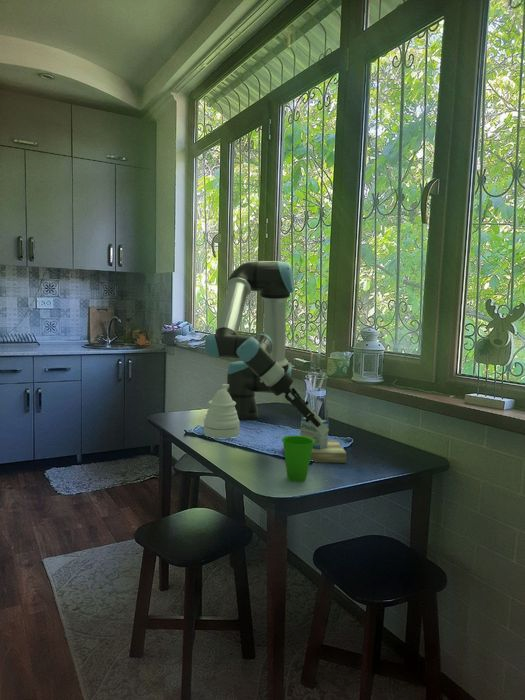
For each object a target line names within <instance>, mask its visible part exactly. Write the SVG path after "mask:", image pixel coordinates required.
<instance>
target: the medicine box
mask: <svg viewBox="0 0 525 700" xmlns="http://www.w3.org/2000/svg"><path fill="white" fill-rule="evenodd" d="M305 420H306V418H305V417H304V416H303V417H302V418H300V435H299V436H306V437H310V438H312V439H314V441H315V443H314V444H313V448H316V449H323V448H325V447H327V443H328V440H329V431H328V432H327V433H326V434H325V435H323V436H322V435H321V434H320V433H319V432H318V431H317V430H316V429H315V428H314V426H313V425H312V424H311V423H310V422H309V421H308V422H306V421H305ZM319 420H320V421H321V422H322V423H323V424H324V425H325V426H326V427H327V428H328V429H329V423H330V422H329V420H326V419H322V418H321V419H319Z"/></svg>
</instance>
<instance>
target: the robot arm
mask: <svg viewBox="0 0 525 700" xmlns="http://www.w3.org/2000/svg"><path fill="white" fill-rule="evenodd" d="M294 280H295V278H294V272H293V266H292V265H291V263H290V262H288V261H279V260H276V261H275V260H270V261H268V260H260V261H259V260H251V261H246V262H244V263H242V264H240V265H239V266H238V267H236V268H235V269H234V270H233V271H232V273H231V274H230V276H229V277H228V279H227V281H226V285H225V287H226V288H225V289H226V294H225V298H224V301H223V305H222V309H221V312H220V314H219V318H218V322H217V325H216V329H215V333H212V334H211V333H209V334H207V335H206V338H205V341H204V350H205V354H206V356H208V357H212V358H229V359H230V358H232V359H233V358H235V359H240V360H237V361H232V362H230V363H228V366H227V373H226V377H227V379H226V381H227V383H226V384H229V388H228V389H227V391H228V393H229V394H230V396H231V398H232V400H233V401H235V402H236V405H235V409H236V411H237V415H238V419H240V420H239V421H241V420H242V421H243V420H244V421H245V420H246V421H247V420H252V419H256V418H258V417H259V409H258V405H257V401H256V398H255V393H262V394H263V393H265V394H266V393H267V394H274V395H275V396H277V397H278V396H280V395H282V394H284V398H285V400H287V402H289V403H290V404H291V406H293V407H294V408H296V409H297V411H298V412H300V413H301V415H302V416H303V418H304V417H305V418H306V420H305V421H306V422H308V421H309V422H310V423H311V424H312V425H313V426H314V428H315V429H316V430H317V431H318V432H319V433H320V434H321V435H322V436H323V435H325V434H326V433H327V432H328V433H329V431H330V429H329V427H328V428H327V427H326V426H325V425H324V424H323V423H322V422H321V421H320V420H319V419H322V418H321V417H320V416H319V415H318V414H317V413H316V412H315V410H313V409H312V407H311V406H310V405H309V402H308V401H307V400H306V401H305V399H303V398H302V397H301V396H300V393H298V391H297V390H296V389H295V387H291V385H292V384H293V382H294V379H293V377H292V370H293V366H292V365H289V360H288V359H287V358H286V324H287V323H286V316H287V315H286V313H287V310H286V309H287V308H286V307H287V301H288V300H289V298H290V297H291V295H290V294H292V293H294V289H295V281H294ZM251 292H260V295H259V296H260V298H261V299H262V300H263V333H258V334H256V335H253V336H252V335H238V333H239V331H240V325H241V321H242V316H243V313H244V309H245V306H246V301H247V297H248V296H250V294H251Z"/></svg>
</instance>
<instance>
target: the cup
mask: <svg viewBox="0 0 525 700" xmlns="http://www.w3.org/2000/svg"><path fill="white" fill-rule="evenodd" d="M281 441H282V442H283V444H284V449H283V451H284V453H283V454H284V460H285V469H286V477H287V480H289V481H291V482H295V483H299V482H300V483H301V482H305V480H306V479H307V477H308V476H307V475H308V471H309V467H310V463H311V462H310V457H311V453H312V448H313V444H314V443H315V441H314V439H312V438H310V437H306V436H300V435H297V434H296V435H295V434H294V435H293V434H292V435H286V436H283V437H282V438H281Z"/></svg>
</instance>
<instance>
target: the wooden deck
mask: <svg viewBox="0 0 525 700" xmlns="http://www.w3.org/2000/svg"><path fill="white" fill-rule="evenodd" d="M283 447H284V444H283V446H282V448H283ZM310 460H313V461H314V462H313V463H338V464H339V463H341V464H342V463H344V464H346V463H347V451H346V450H345V448H343V446H342V445H341V444H340V442H339V441H338V440H337V439H328V443H327V447H325V448H323V449H316V448H312V453H311V457H310Z"/></svg>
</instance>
